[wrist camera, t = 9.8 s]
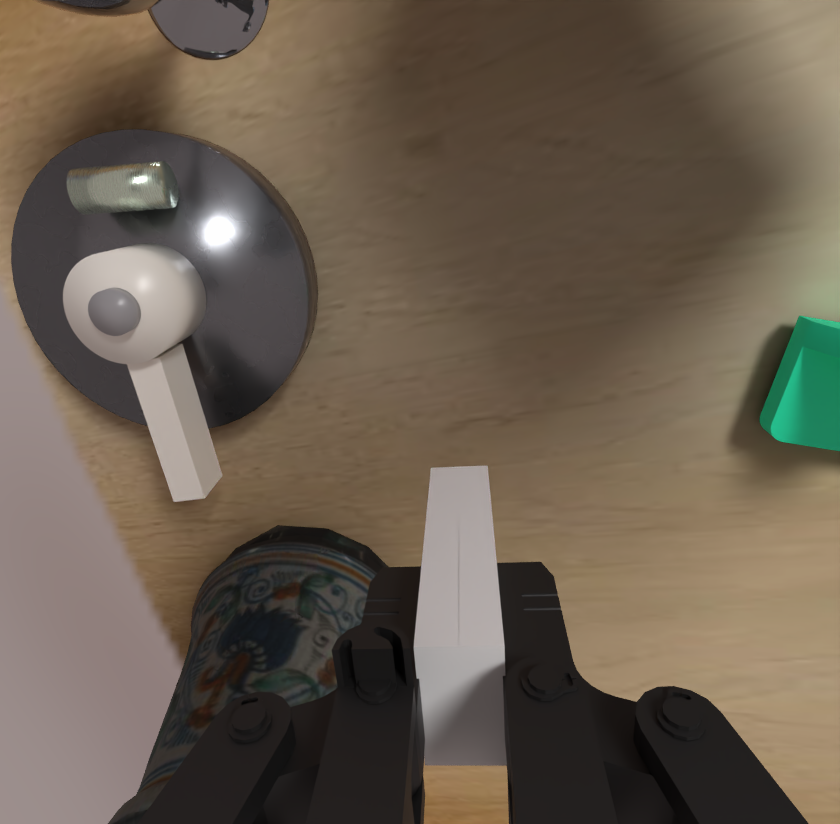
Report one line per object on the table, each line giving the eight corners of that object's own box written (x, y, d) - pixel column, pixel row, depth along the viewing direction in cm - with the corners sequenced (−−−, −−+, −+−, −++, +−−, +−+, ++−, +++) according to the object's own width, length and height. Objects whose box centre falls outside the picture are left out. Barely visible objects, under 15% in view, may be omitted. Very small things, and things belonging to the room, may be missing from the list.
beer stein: (375, 498, 45) (284, 856, 21) (448, 695, 51) (438, 1132, 28) (174, 546, 47) (-102, 910, 24) (267, 727, 54) (121, 1151, 31)
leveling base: (5, 145, 37) (-66, 141, 32) (295, 119, 35) (268, 111, 30) (86, 419, 44) (37, 451, 39) (334, 407, 42) (317, 439, 37)
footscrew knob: (93, 251, 36) (35, 263, 31) (189, 235, 35) (146, 245, 30) (169, 477, 41) (131, 518, 36) (254, 467, 40) (227, 507, 36)
